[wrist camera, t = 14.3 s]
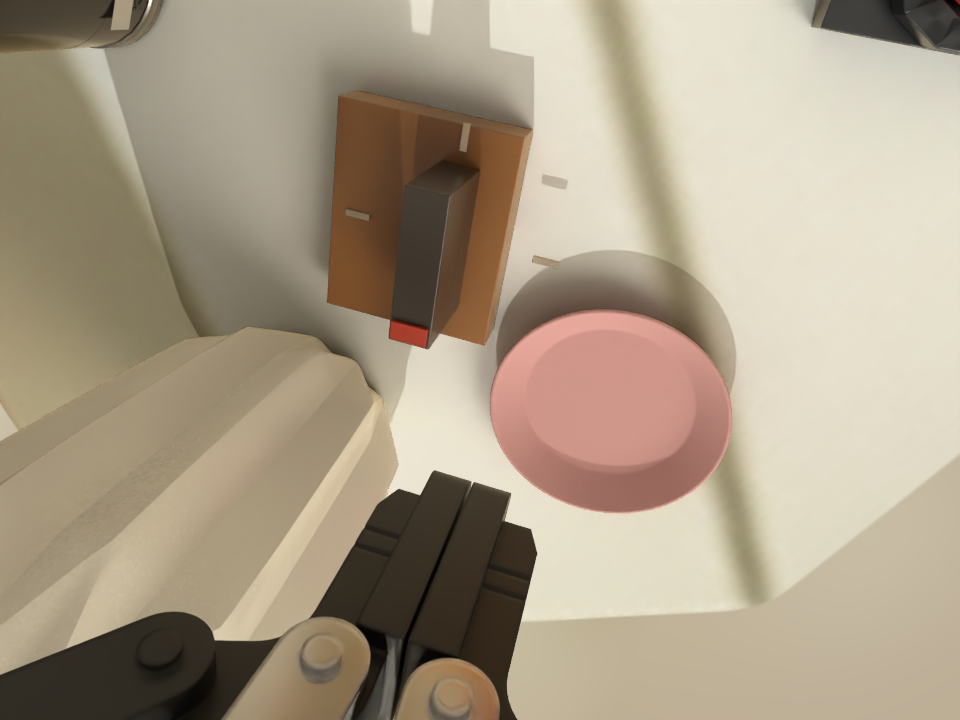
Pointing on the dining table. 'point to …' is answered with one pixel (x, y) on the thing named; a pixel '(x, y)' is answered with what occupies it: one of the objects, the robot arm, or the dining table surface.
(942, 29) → the button block
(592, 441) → the plate
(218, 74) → the dining table surface
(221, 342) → the vase
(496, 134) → the oak panel
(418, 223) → the bar knob
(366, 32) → the dining table surface
